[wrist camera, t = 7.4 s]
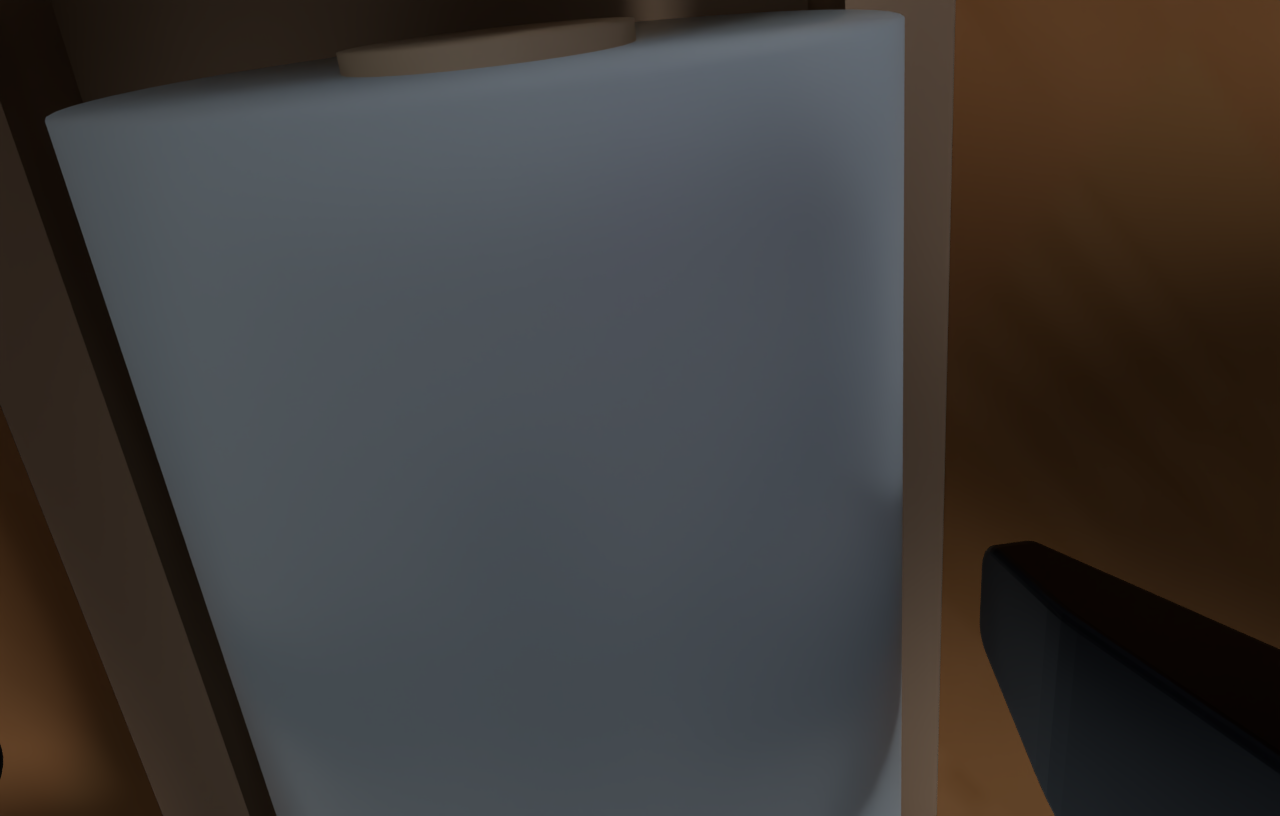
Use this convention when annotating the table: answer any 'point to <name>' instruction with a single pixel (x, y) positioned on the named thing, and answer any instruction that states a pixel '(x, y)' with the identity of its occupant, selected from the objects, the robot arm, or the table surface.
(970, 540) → the table surface
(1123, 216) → the table surface
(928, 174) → the holder
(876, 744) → the roll
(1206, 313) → the table surface
